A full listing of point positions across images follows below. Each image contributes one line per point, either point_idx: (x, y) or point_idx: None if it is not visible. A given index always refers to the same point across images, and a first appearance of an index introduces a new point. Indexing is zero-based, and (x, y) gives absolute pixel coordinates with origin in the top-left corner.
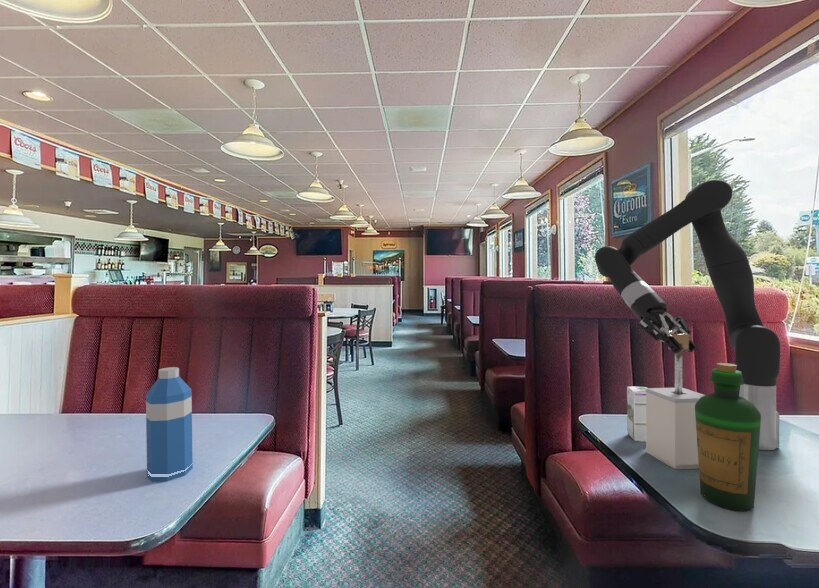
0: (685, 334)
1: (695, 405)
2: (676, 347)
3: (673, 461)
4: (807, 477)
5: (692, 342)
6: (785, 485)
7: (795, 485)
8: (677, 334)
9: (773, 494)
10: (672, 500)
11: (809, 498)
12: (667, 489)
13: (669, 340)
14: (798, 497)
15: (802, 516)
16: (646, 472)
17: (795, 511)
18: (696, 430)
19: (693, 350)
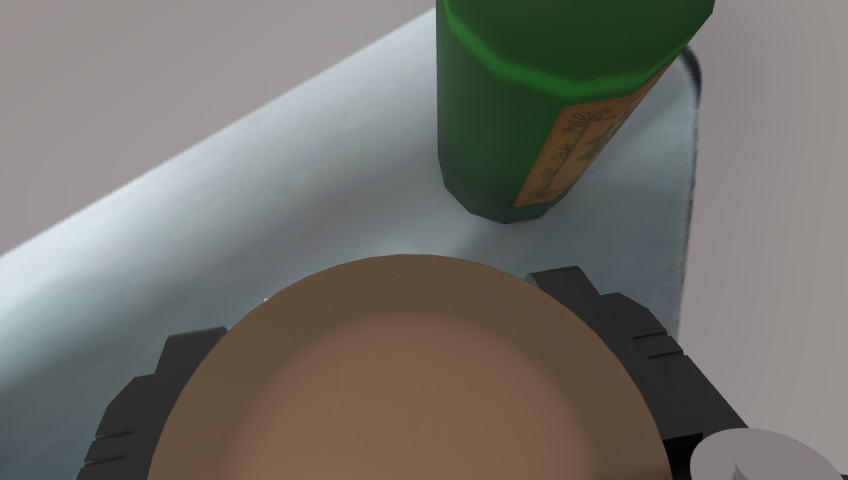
0: (322, 364)
1: (710, 8)
2: (625, 299)
3: None
4: (52, 240)
5: (164, 394)
6: (205, 208)
7: (170, 202)
8: (541, 409)
9: (315, 168)
10: (674, 191)
11: (229, 132)
12: (642, 251)
13: (727, 411)
14: (256, 142)
15: (366, 67)
16: None
17: (357, 88)
18: (654, 84)
19: None
